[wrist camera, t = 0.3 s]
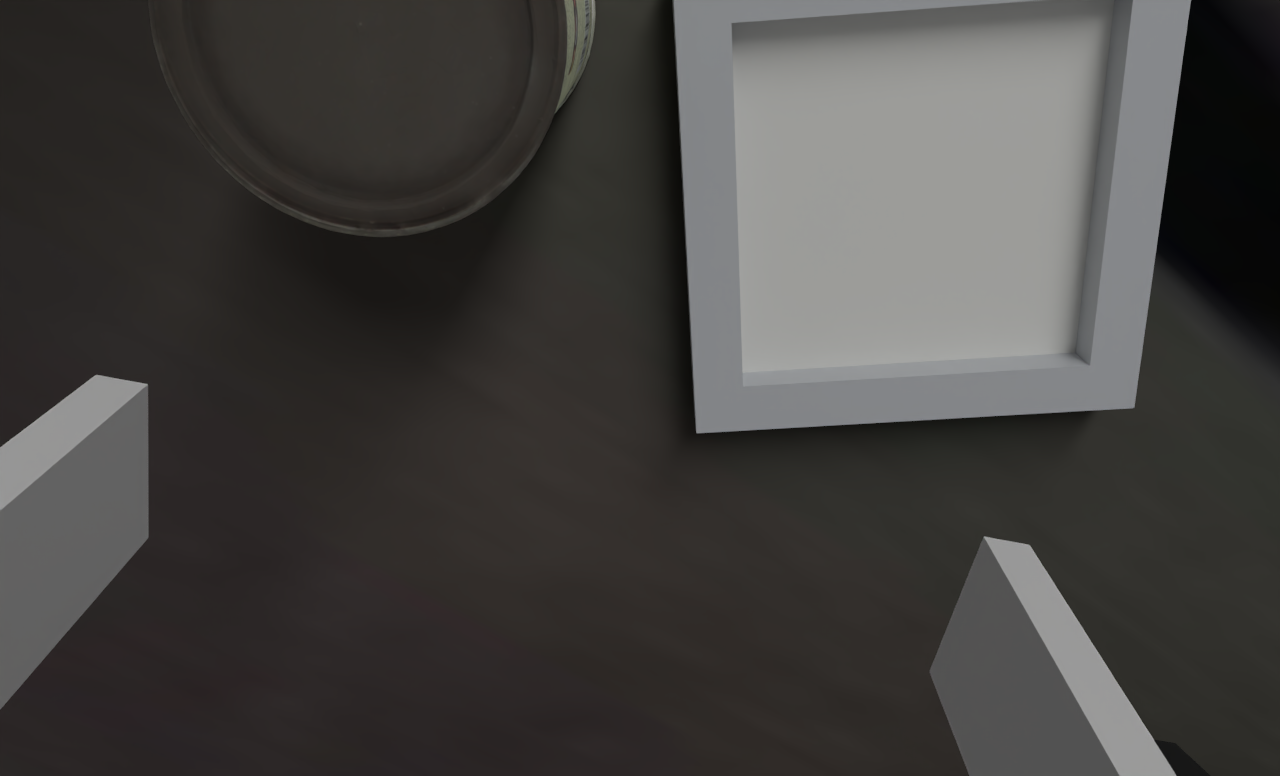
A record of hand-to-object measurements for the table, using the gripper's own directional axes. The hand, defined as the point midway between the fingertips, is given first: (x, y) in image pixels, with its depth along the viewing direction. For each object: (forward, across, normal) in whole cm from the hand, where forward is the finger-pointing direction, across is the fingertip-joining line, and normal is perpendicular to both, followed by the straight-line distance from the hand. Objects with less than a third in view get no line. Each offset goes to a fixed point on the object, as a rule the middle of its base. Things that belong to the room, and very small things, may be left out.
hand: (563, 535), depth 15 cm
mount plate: (+26, +12, +2) cm, 29 cm away
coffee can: (+27, -7, +5) cm, 28 cm away
